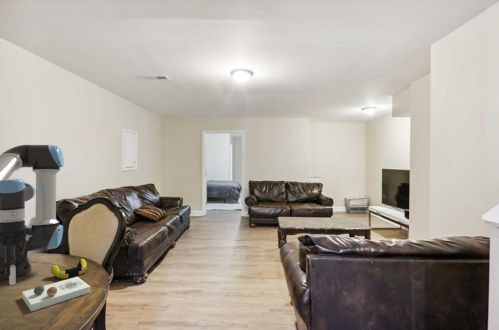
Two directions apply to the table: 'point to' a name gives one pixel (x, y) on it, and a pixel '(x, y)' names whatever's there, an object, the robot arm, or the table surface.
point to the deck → (64, 292)
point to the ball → (39, 290)
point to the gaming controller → (69, 270)
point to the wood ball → (51, 291)
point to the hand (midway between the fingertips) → (12, 283)
